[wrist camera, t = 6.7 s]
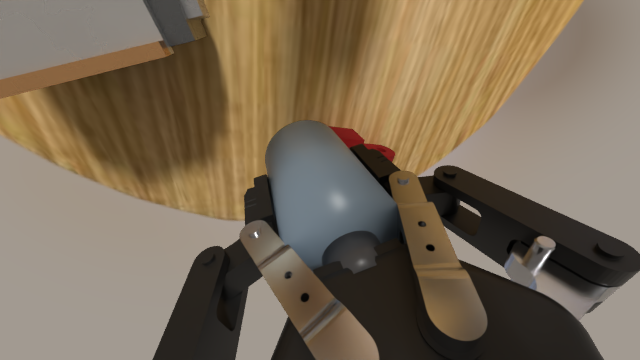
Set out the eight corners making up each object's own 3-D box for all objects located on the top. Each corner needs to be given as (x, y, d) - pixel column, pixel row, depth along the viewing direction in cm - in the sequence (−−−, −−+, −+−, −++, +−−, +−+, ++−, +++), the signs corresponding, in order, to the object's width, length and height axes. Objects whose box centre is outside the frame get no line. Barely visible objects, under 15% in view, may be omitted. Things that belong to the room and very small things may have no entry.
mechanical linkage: (300, 162, 40) (306, 177, 36) (307, 123, 37) (315, 135, 33) (377, 167, 46) (390, 180, 42) (390, 133, 42) (406, 144, 38)
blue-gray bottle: (335, 109, 14) (444, 209, 7) (345, 176, 17) (428, 295, 10) (252, 134, 14) (270, 275, 6) (279, 199, 17) (311, 343, 9)
